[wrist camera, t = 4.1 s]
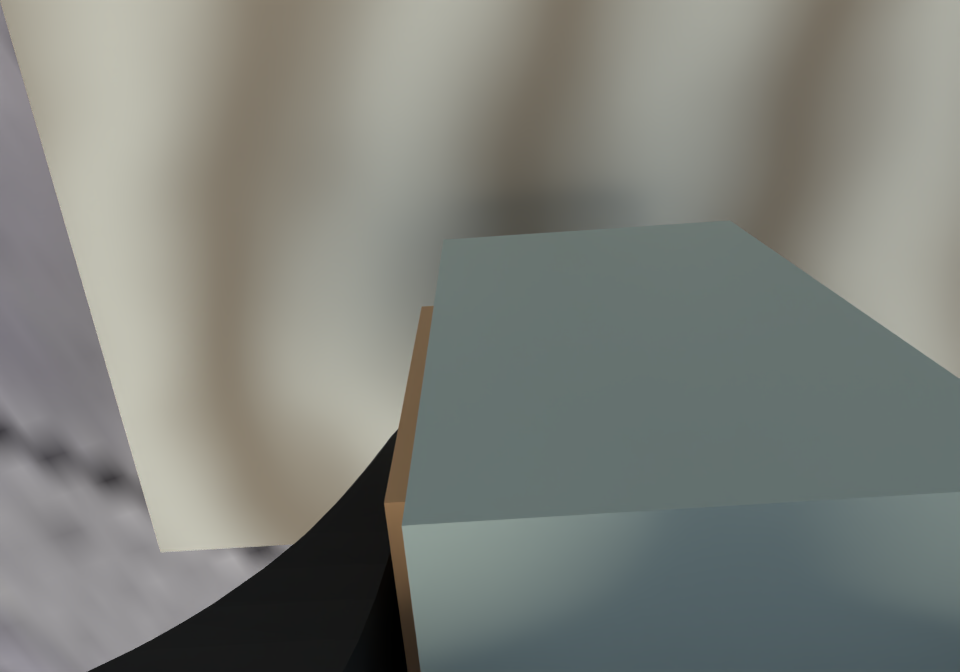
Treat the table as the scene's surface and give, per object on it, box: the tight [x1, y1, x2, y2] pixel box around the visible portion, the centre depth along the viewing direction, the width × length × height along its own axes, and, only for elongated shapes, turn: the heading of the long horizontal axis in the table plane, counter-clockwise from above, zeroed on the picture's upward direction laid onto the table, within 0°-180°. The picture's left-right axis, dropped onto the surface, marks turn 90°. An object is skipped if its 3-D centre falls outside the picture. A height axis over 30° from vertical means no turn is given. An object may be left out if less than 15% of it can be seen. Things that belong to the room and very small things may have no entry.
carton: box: [384, 220, 960, 672], centre depth 10 cm, size 5×7×8 cm
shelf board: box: [0, 0, 960, 552], centre depth 19 cm, size 24×18×2 cm
